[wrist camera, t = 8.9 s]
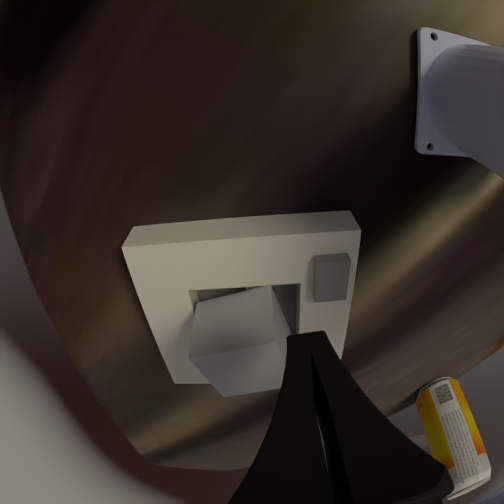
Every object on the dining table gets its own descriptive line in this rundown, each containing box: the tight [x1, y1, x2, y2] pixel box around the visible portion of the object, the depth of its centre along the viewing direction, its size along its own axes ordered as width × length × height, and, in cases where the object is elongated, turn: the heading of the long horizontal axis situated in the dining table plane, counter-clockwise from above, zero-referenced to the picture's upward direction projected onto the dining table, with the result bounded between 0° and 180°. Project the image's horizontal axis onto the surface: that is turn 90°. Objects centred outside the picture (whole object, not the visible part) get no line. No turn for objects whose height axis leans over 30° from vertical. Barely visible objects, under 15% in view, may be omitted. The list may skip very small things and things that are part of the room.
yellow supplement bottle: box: [416, 377, 491, 500], centre depth 27 cm, size 6×6×15 cm
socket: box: [122, 211, 361, 384], centre depth 23 cm, size 14×14×3 cm
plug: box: [188, 284, 291, 397], centre depth 21 cm, size 5×5×6 cm
